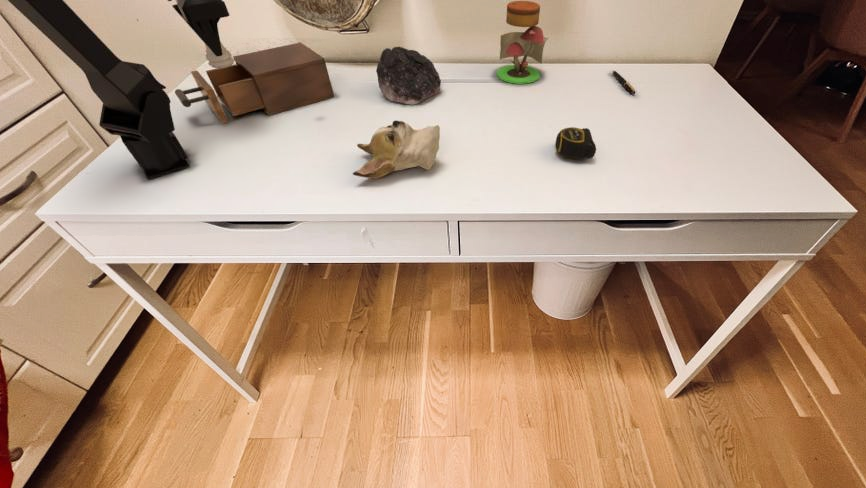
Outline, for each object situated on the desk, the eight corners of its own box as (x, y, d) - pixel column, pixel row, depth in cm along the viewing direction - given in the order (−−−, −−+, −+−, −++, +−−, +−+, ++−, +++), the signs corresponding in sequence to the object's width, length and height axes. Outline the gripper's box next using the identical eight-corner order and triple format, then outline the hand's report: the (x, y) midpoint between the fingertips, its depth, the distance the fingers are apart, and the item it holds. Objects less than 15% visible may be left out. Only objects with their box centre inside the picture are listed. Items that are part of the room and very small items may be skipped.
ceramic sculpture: (440, 132, 59) (341, 143, 59) (446, 180, 66) (357, 191, 65) (436, 102, 67) (347, 111, 66) (442, 148, 73) (361, 157, 72)
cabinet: (269, 115, 81) (253, 75, 75) (249, 95, 88) (232, 56, 82) (334, 97, 88) (324, 58, 82) (311, 79, 94) (300, 42, 88)
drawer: (197, 129, 75) (179, 96, 71) (182, 108, 81) (165, 77, 76) (289, 104, 83) (278, 73, 78) (270, 86, 89) (258, 56, 84)
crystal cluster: (451, 100, 89) (451, 51, 82) (397, 109, 83) (392, 57, 76) (422, 84, 97) (420, 39, 91) (371, 92, 91) (365, 44, 84)
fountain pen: (609, 72, 99) (610, 66, 98) (613, 72, 99) (615, 66, 98) (631, 96, 90) (633, 90, 89) (636, 96, 90) (638, 89, 89)
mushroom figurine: (547, 85, 93) (557, 12, 82) (495, 84, 93) (498, 11, 82) (543, 66, 101) (551, -2, 90) (494, 66, 101) (497, -3, 90)
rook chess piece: (239, 64, 74) (219, 15, 68) (215, 70, 72) (191, 20, 66) (229, 58, 76) (208, 10, 70) (205, 64, 74) (182, 15, 68)
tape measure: (593, 164, 70) (598, 145, 68) (555, 162, 70) (559, 143, 68) (588, 144, 75) (592, 126, 72) (552, 143, 75) (555, 124, 72)
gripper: (240, -53, 59) (278, 58, 71) (208, -68, 69) (246, 31, 81) (157, -45, 55) (212, 72, 66) (135, -62, 64) (186, 42, 76)
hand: (216, 52), depth 72 cm, fingers closed on rook chess piece, 3 cm apart
